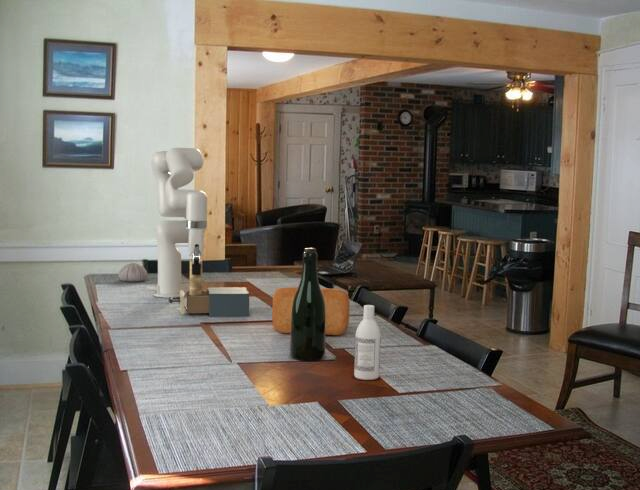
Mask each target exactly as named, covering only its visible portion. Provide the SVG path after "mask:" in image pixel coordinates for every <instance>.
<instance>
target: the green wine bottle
mask: <svg viewBox="0 0 640 490" xmlns="http://www.w3.org/2000/svg"><path fill="white" fill-rule="evenodd" d="M318 258H319V256H318V252H317V248H315V247H305V248H304V251H303V253H302V270H301V276H300V281H299V285H298V286H297V287H298V289H297V292H296V294H295V297H294V300H293V304H292V316H291V333H290V340H289V341H290V342H289V344H290V345H289V355H290V357H291V358H292V359H294V360H298V361H303V362H308V361H309V362H313V361H314V362H315V361H318V360H319V361H320V360H322V359H323V358H324V357H325V356H326V335H325V318H326V315H325V302H324V297H323V294H322V292H321V289H320V288H321V286H320V283H319V282H320V281H319V277H318V276H319V275H318Z"/></svg>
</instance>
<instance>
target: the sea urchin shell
mask: <svg viewBox="0 0 640 490" xmlns="http://www.w3.org/2000/svg"><path fill="white" fill-rule="evenodd" d="M117 277H118V279H119V281H122V282H133V283H136V282H144V281H146V280H147V279H148V277H149V274H148V271H147V269H146V268H145V267H144V266H143V265H141V264H139V263H135V262H134V263H132V262H131V263H128V264H127V263H126V264H125V265H123V267H122V268H120V270H119V271H118V275H117Z"/></svg>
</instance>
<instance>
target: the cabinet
mask: <svg viewBox="0 0 640 490" xmlns="http://www.w3.org/2000/svg"><path fill="white" fill-rule="evenodd" d="M206 291H208V293H209V313H207V314H208V317H209V318H219V317H220V318H222V317H225V318H227V317H250V292H249V290H248V289H247V287H245V286H244V287H243V286H240V287H239V286H236V287H235V286H234V287H233V286H232V287H229V286H228V287H221V286H220V287H213V286H212V287H211V286H210V287H208V286H207V287H206Z"/></svg>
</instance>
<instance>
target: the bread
mask: <svg viewBox="0 0 640 490" xmlns="http://www.w3.org/2000/svg"><path fill="white" fill-rule="evenodd" d="M298 287H299V286H288V287H287V286H286V287H280V288H278V289H276V290H275V291H274V292H273V295H272V308H271V309H272V312H271V322H272V326H273V328H274V330H275V331H277V332H279V333H283V334H291V316H292V304H293V300H294V297H295V294H296V292H297V289H298ZM320 289H321V292H322V294H323V297H324V302H325V315H326V318H325V336H342V335H343V334H344V333H345V332H346V331H347V329H348V327H349V322H350V310H351V309H350V307H351V305H350V302H351V301H350V297H349V295H348V293H347V292H346V291H345V290H343V289H341V288H327V287H320Z"/></svg>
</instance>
